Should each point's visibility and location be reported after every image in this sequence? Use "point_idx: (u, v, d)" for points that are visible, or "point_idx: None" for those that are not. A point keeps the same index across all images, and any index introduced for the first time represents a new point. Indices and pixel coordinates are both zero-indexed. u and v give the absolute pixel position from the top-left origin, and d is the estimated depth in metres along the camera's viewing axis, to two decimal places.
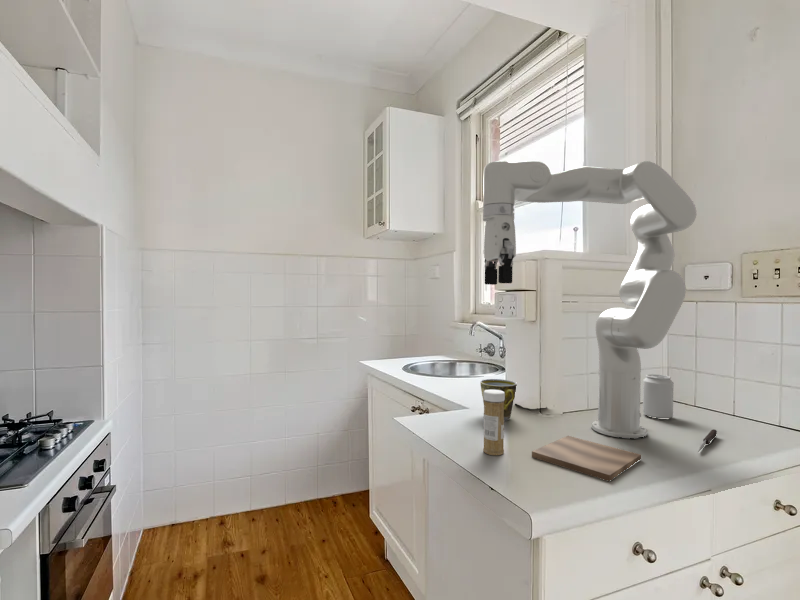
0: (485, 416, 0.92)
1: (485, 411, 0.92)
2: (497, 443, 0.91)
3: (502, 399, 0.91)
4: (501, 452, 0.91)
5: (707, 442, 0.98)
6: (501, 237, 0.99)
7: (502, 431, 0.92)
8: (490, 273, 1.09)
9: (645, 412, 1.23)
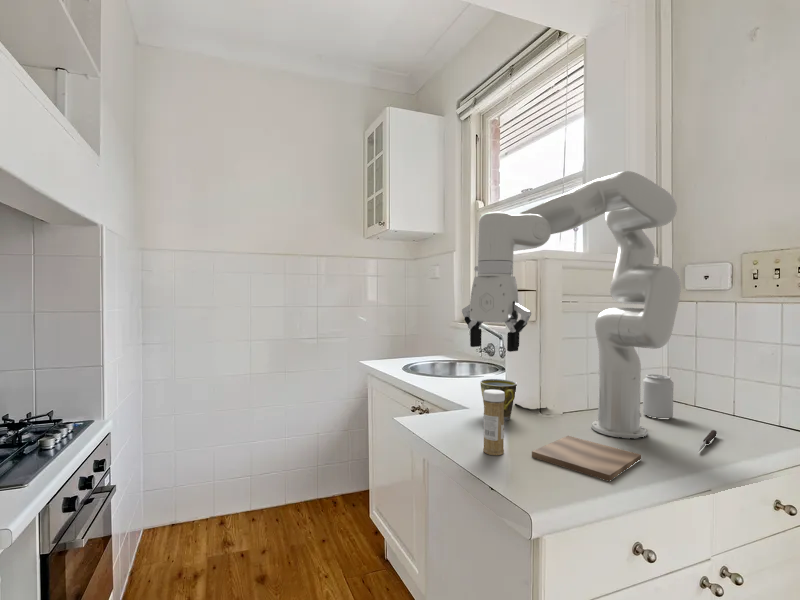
0: (485, 416, 0.92)
1: (485, 411, 0.92)
2: (497, 443, 0.91)
3: (502, 399, 0.91)
4: (501, 452, 0.91)
5: (707, 443, 0.98)
6: None
7: (502, 431, 0.92)
8: None
9: (645, 412, 1.23)
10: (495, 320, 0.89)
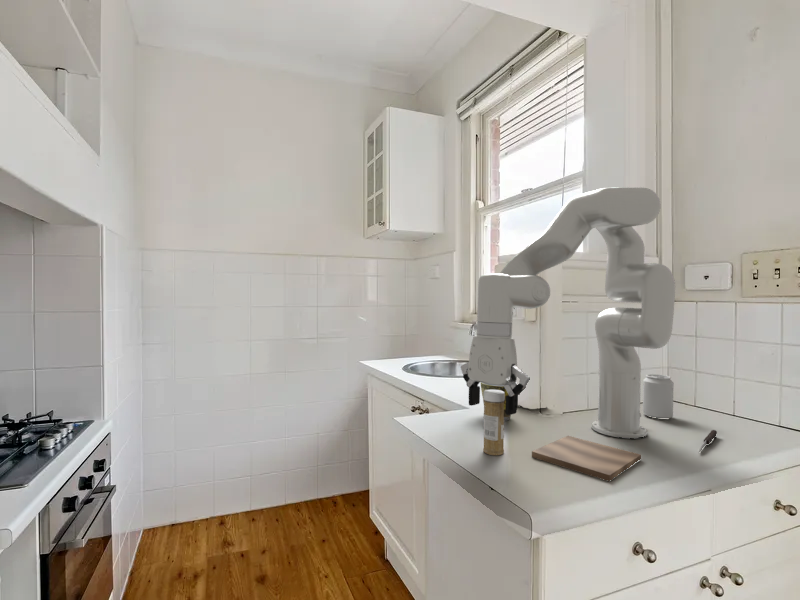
0: (485, 416, 0.92)
1: (485, 411, 0.92)
2: (497, 443, 0.91)
3: (502, 399, 0.91)
4: (501, 452, 0.91)
5: (707, 443, 0.98)
6: None
7: (502, 431, 0.92)
8: None
9: (645, 412, 1.23)
10: (494, 383, 0.89)
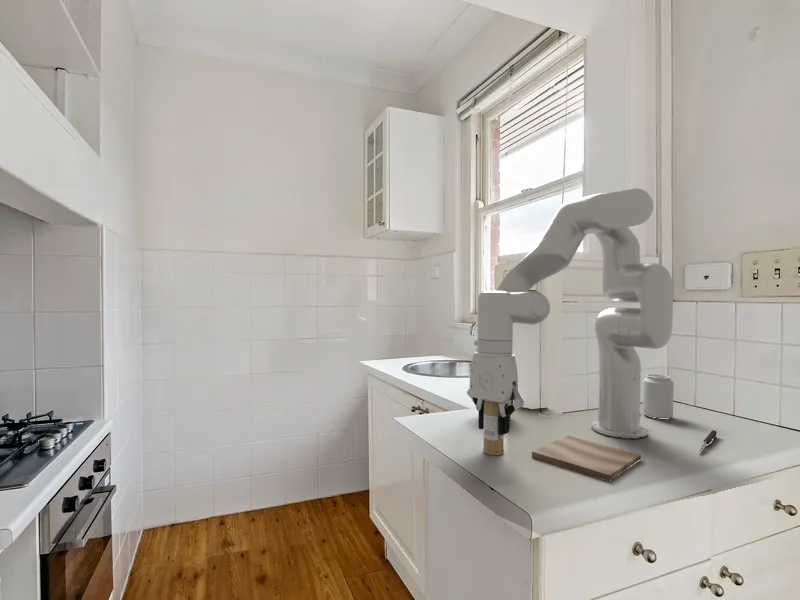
0: (485, 416, 0.92)
1: (485, 411, 0.92)
2: (497, 443, 0.91)
3: None
4: (501, 452, 0.91)
5: (707, 443, 0.98)
6: None
7: None
8: None
9: (645, 412, 1.23)
10: (495, 400, 0.90)
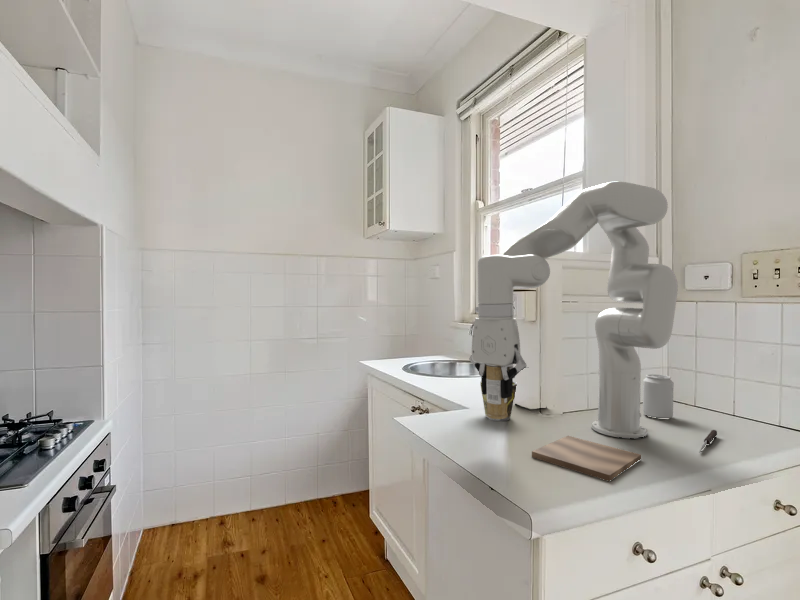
0: (488, 381, 0.93)
1: (488, 376, 0.93)
2: (500, 406, 0.91)
3: None
4: (505, 416, 0.92)
5: (708, 443, 0.98)
6: None
7: None
8: None
9: (645, 412, 1.23)
10: (497, 364, 0.90)
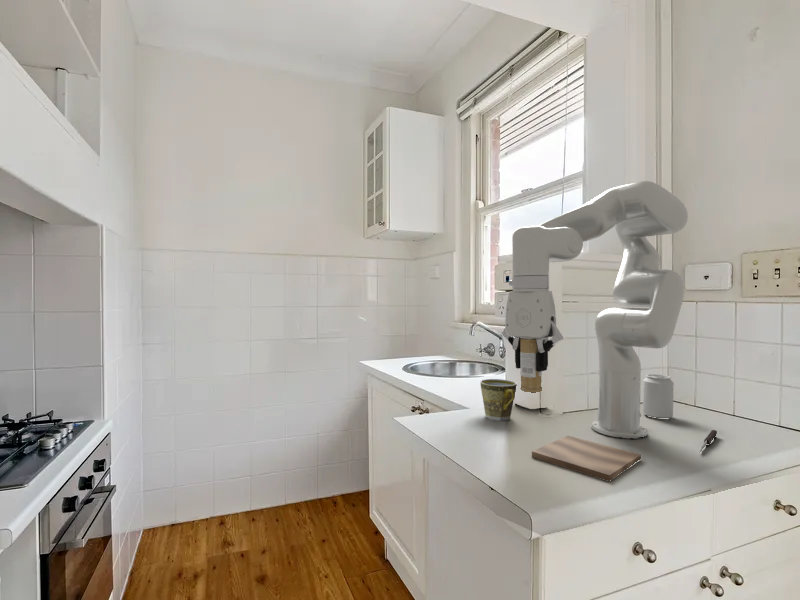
0: (522, 354, 0.91)
1: (522, 349, 0.91)
2: (535, 380, 0.90)
3: None
4: (539, 389, 0.90)
5: (708, 443, 0.98)
6: None
7: None
8: None
9: (645, 412, 1.23)
10: (533, 336, 0.88)
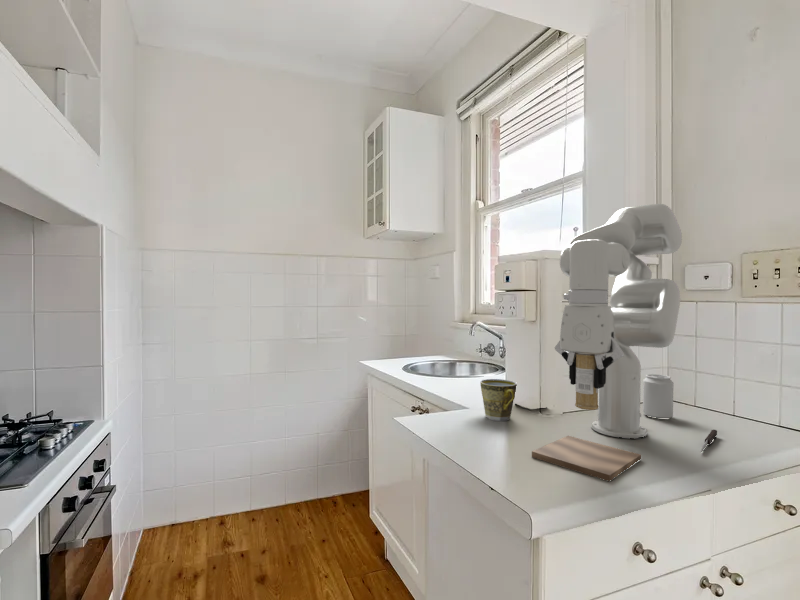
0: (579, 370, 0.89)
1: (578, 364, 0.89)
2: (592, 396, 0.88)
3: None
4: (596, 406, 0.88)
5: (708, 442, 0.98)
6: None
7: None
8: None
9: (645, 412, 1.23)
10: (592, 352, 0.86)
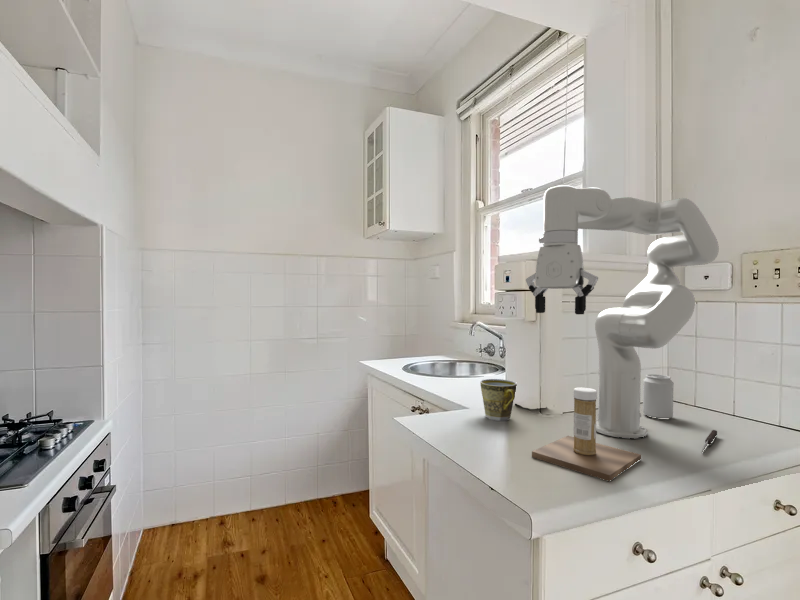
0: (577, 415, 0.90)
1: (576, 410, 0.90)
2: (590, 442, 0.88)
3: (595, 397, 0.89)
4: (594, 452, 0.89)
5: (709, 443, 0.98)
6: None
7: (595, 430, 0.89)
8: None
9: (645, 412, 1.23)
10: (563, 286, 0.96)
